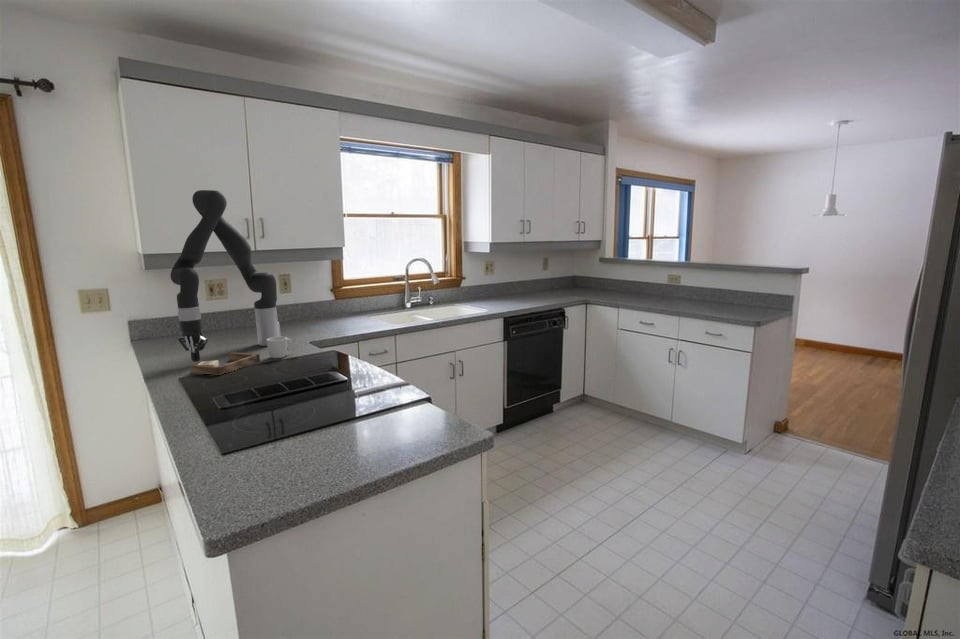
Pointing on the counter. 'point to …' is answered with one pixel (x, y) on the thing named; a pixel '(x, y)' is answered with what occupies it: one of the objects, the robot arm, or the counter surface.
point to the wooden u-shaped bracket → (239, 362)
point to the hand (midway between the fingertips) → (195, 361)
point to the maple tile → (210, 363)
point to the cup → (278, 346)
